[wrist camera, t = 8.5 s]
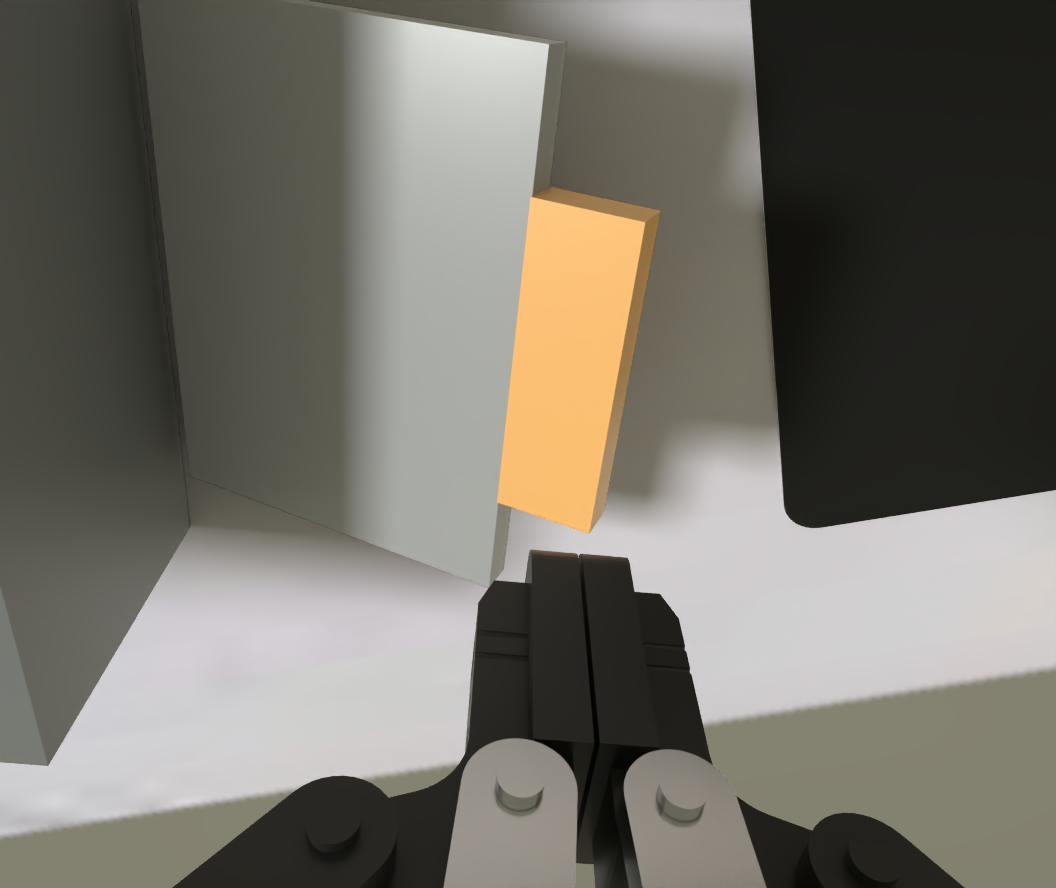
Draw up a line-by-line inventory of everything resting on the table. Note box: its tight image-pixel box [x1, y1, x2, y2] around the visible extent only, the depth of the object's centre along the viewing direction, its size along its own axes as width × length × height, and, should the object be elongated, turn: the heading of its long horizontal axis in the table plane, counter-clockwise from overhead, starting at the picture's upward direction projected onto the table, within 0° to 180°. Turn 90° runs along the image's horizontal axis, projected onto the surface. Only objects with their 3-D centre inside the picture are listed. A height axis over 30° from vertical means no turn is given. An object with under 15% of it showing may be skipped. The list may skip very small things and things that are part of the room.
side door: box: [137, 0, 661, 588], centre depth 22 cm, size 14×1×13 cm
